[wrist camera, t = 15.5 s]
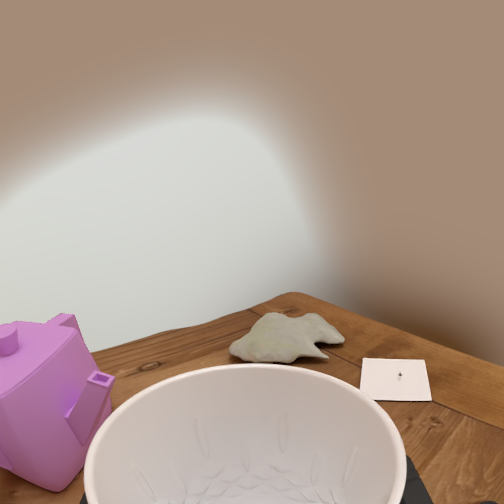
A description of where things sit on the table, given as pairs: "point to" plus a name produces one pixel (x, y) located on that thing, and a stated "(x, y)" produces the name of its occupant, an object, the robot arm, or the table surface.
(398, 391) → the coaster
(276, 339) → the arrowhead
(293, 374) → the white cup
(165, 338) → the table surface
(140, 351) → the table surface
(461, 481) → the table surface
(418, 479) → the robot arm
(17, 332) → the teakettle
